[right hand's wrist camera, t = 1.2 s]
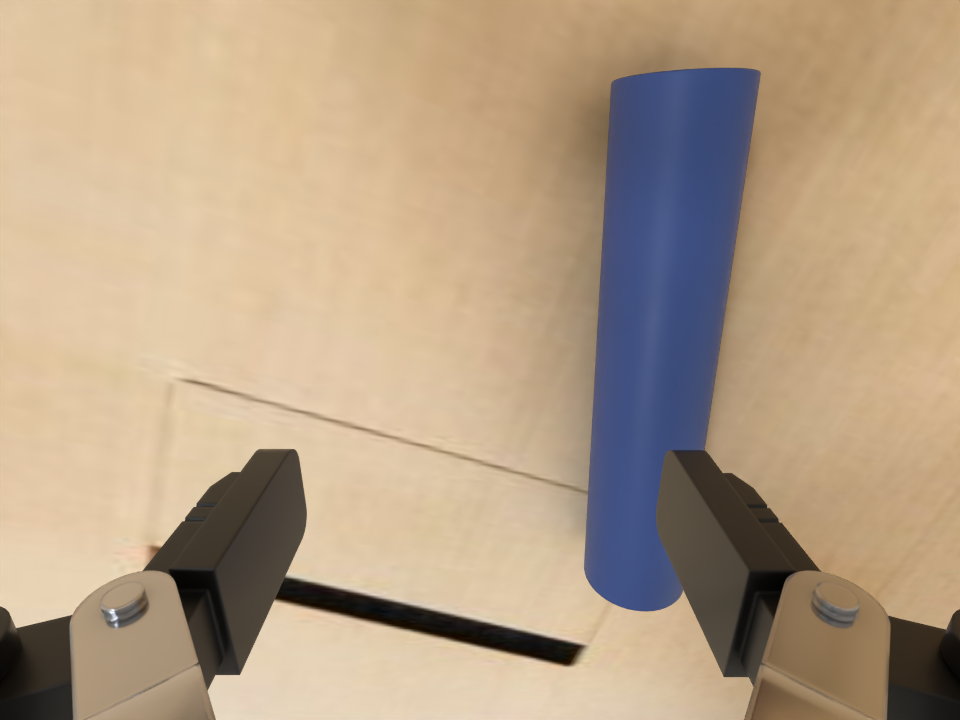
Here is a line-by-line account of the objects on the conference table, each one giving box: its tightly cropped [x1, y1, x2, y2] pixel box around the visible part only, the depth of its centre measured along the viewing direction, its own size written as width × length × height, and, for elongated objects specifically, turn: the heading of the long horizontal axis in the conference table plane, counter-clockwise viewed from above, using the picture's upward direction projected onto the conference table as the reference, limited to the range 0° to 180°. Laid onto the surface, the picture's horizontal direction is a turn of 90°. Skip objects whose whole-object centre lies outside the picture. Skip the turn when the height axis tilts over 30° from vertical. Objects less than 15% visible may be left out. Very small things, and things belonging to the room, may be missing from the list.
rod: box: [584, 68, 761, 611], centre depth 28 cm, size 28×6×6 cm, turn 2°
